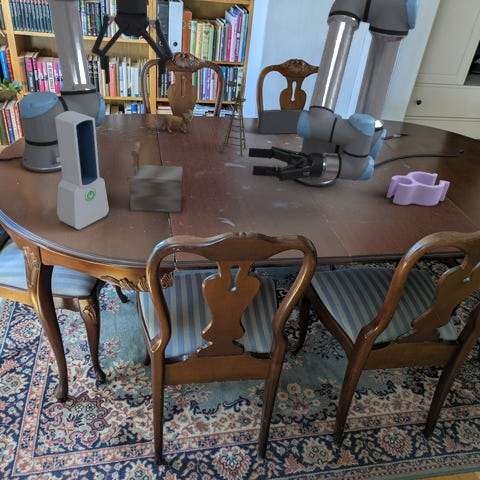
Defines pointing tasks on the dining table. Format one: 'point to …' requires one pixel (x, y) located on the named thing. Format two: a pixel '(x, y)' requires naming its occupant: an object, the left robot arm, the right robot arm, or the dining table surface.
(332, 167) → the right robot arm
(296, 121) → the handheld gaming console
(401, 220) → the dining table surface
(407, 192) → the clip
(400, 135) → the paintbrush
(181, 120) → the lion figurine
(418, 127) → the dining table surface
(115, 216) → the dining table surface
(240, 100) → the miniature windmill
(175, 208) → the chest
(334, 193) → the dining table surface
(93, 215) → the electronic device
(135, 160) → the grey piece
